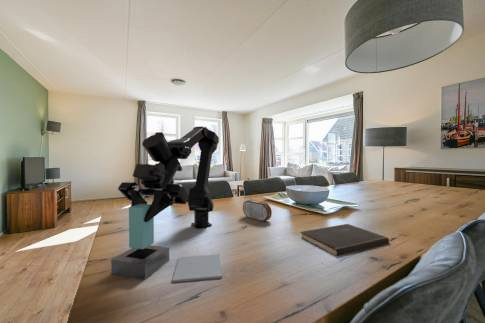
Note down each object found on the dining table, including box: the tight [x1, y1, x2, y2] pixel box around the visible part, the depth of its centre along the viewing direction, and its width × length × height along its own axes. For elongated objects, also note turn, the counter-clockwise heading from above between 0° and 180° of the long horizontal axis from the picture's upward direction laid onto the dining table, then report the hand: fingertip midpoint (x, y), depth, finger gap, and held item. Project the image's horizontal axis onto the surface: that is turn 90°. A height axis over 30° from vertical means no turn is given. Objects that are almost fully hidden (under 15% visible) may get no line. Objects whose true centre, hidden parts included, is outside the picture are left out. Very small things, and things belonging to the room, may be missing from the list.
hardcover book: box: [300, 223, 390, 257], centre depth 72 cm, size 16×23×2 cm
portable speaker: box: [242, 198, 273, 222], centre depth 95 cm, size 15×3×8 cm, turn 47°
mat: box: [172, 253, 223, 283], centre depth 54 cm, size 11×11×1 cm
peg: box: [128, 203, 155, 249], centre depth 54 cm, size 4×4×10 cm
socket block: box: [110, 244, 170, 281], centre depth 54 cm, size 9×9×4 cm
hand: (137, 220), depth 52 cm, fingers closed on peg, 4 cm apart
